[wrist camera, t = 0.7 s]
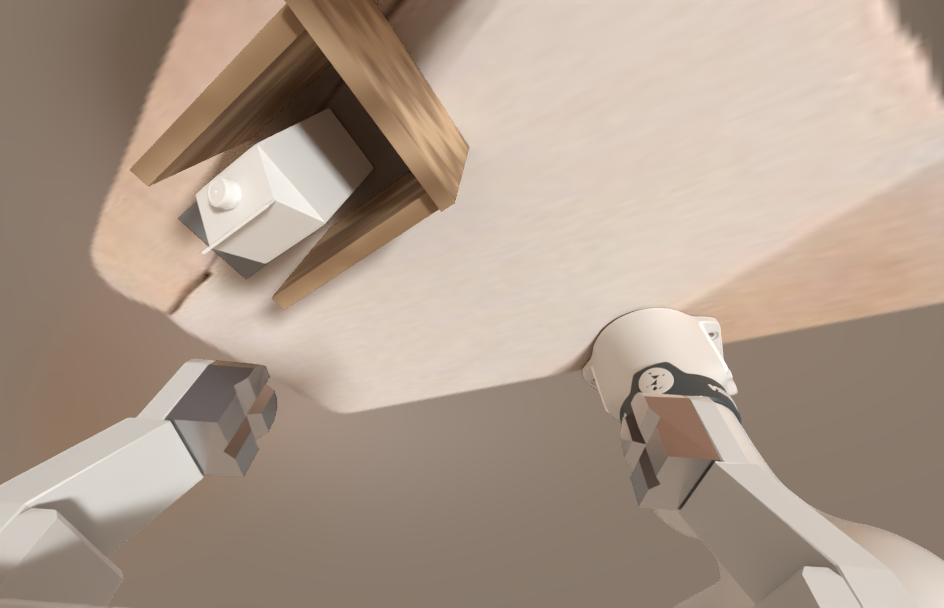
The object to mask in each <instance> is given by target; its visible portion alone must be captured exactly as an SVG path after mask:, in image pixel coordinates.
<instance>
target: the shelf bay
mask: <svg viewBox="0 0 944 608" xmlns="http://www.w3.org/2000/svg"><path fill="white" fill-rule="evenodd" d="M285 2H286V5H285V6H284V7H283V8H282V9H281V10H280V11H279V12H278V13H277V14H276V15H275V16H274V17H273V18H272V19H271V20H270V21H269V23H268V24H267V25H266V26H265V27H264V28H263V29H262V30H261V31H260V32H259V33H258V34H257V35H256V36H255V37H254V38H253V40H252V41H251V42H250V43H249V44H248V45H247V46H246V47H245V48H244V49H243V50H242V51H241V52H240V53H239V54H238V55H237V56H236V58H235V59H234V60H233V61H232V62H231V63H230V64H229V65H228V66H227V67H226V68H225V69H224V70H223V71H222V72H221V73H220V74H219V76H218V77H217V78H216V79H215V80H214V81H213V82H212V83H211V84H210V85H209V86H208V87H207V88H206V89H205V90H204V91H203V93H202V94H201V95H200V96H199V97H198V98H197V99H196V100H195V101H194V102H193V103H192V104H191V105H190V106H189V107H188V108H187V109H186V111H185V112H184V113H183V114H182V115H181V116H180V117H179V118H178V119H177V120H176V121H175V122H174V123H173V124H172V125H171V126H170V128H169V129H168V130H167V131H166V132H165V133H164V134H163V135H162V136H161V137H160V138H159V139H158V140H157V141H156V142H155V143H154V144H153V146H152V147H151V148H150V149H149V150H148V151H147V152H146V153H145V154H144V155H143V156H142V157H141V158H140V159H139V160H138V161H137V162H136V164H135V165H134V166H133V167H132V168H131V169H130V171H131V172H132V173H134V174H135V175H136V176H137V177H138V178H139V179H140V180H141V181H142V182H144V183H145V184H146V185H147V186H150V185H153V184H155V183H157V182H159V181H161V180H163V179H166V178H168V177H170V176H172V175H174V174H176V173H179V172H181V171H183V170H185V169H187V168H189V167H192V166H194V165H196V164H198V163H200V162H202V161H205V160H207V159H209V158H211V157H213V156H215V155H218V154H220V153H222V152H224V151H226V150H228V149H231V148H233V147H235V146H237V145H239V144H241V143H244V142H246V141H248V140H250V139H251V138H252V137H253V136H254V135H255V134H256V133H257V132H258V131H259V130H260V129H262V128H263V127H264V126H265V125H266V124H267V123H268V122H269V121H270V120H271V119H272V118H273V117H275V116H276V115H277V114H278V113H279V112H280V111H281V110H282V109H283V108H284V107H285V106H286V105H288V104H289V103H290V102H291V101H292V100H293V99H294V98H295V97H296V96H297V95H298V94H299V93H301V92H302V91H303V90H304V89H305V88H306V87H307V86H308V85H309V84H310V83H311V82H312V81H314V80H315V79H316V78H317V77H318V76H319V75H320V74H321V73H322V72H323V71H324V70H325V69H327V68H328V67H329V66H330V65H331V64H332V65H333V66H334V68H335V69H336V71H337V72H338V73H339V75H340V76H341V77H342V79H343V80H344V81H345V83H346V84H347V85H348V87H349V88H350V89H351V91H352V92H353V93H354V95H355V96H356V97H357V99H358V100H359V102H360V103H361V104H362V106H363V107H364V108H365V110H366V111H367V112H368V114H369V115H370V116H371V118H372V119H373V120H374V122H375V123H376V124H377V126H378V127H379V128H380V130H381V131H382V133H383V134H384V135H385V137H386V138H387V139H388V141H389V142H390V143H391V145H392V146H393V147H394V149H395V150H396V151H397V153H398V154H399V155H400V157H401V158H402V159H403V161H404V162H405V164H406V165H407V166H408V168H409V169H410V170H411V171H409V172H408V173H406V174H405V175H404V176H402V177H401V178H399V179H398V180H397V181H395V182H394V183H392V184H391V185H390V186H388V187H387V188H385V189H384V190H383V191H381V192H380V193H378V194H377V195H376V196H374V197H373V198H371V199H370V200H369V201H367V202H366V203H364V204H363V205H362V206H360V207H359V208H357V209H356V210H355V211H353V212H352V213H350V214H349V215H348V216H346V217H345V218H343V219H342V220H341V221H339V222H338V223H337V224H335V225H334V226H332V227H331V228H330V229H329V230H328V231H327V232H326V233H325V235H324V236H323V237H322V238H321V239H320V241H319V242H318V243H317V244H316V245H315V247H314V248H313V249H312V250H311V251H310V253H309V254H308V255H307V256H306V257H305V259H304V260H303V261H302V262H301V263H300V264H299V266H298V267H297V268H296V269H295V270H294V272H293V273H292V274H291V275H290V276H289V278H288V279H287V280H286V281H285V282H284V284H283V285H282V286H281V287H280V288H279V290H278V291H277V292H276V293H275V294H274V295H273V297H272V299H273V300H274V301H275V302H276V303H277V304H278V305H280V306H281V307H282V308H283V309H284V310H285V309H286V308H288V307H289V306H291V305H292V304H294V303H295V302H297V301H298V300H300V299H302V298H303V297H305V296H306V295H308V294H309V293H311V292H312V291H314V290H315V289H317V288H318V287H320V286H322V285H323V284H325V283H326V282H328V281H329V280H331V279H332V278H334V277H335V276H337V275H338V274H340V273H342V272H343V271H345V270H346V269H348V268H349V267H351V266H352V265H354V264H355V263H357V262H358V261H360V260H362V259H363V258H365V257H366V256H368V255H369V254H371V253H372V252H374V251H375V250H377V249H378V248H380V247H382V246H383V245H385V244H386V243H388V242H389V241H391V240H392V239H394V238H395V237H397V236H399V235H400V234H402V233H403V232H405V231H406V230H408V229H409V228H411V227H412V226H414V225H415V224H417V223H419V222H420V221H422V220H423V219H425V218H426V217H428V216H429V215H431V214H432V213H434V212H435V211H437V210H439V209H440V211H441V212H442V211H443V210H445V209H446V208H448V207H449V206H451V205H453V204H454V203H455V200H456V196H457V192H458V188H459V185H460V181H461V177H462V173H463V169H464V165H465V162H466V158H467V154H468V150H469V146H468V144H467V143H466V141H465V140H464V138H463V137H462V135H461V134H460V132H459V131H458V129H457V127H456V126H455V124H454V123H453V121H452V120H451V118H450V117H449V115H448V113H447V112H446V110H445V109H444V107H443V106H442V104H441V103H440V101H439V100H438V98H437V96H436V95H435V93H434V92H433V90H432V89H431V87H430V86H429V84H428V83H427V81H426V79H425V78H424V76H423V75H422V73H421V72H420V70H419V69H418V67H417V66H416V64H415V62H414V61H413V59H412V58H411V56H410V55H409V53H408V52H407V50H406V49H405V47H404V45H403V44H402V42H401V41H400V39H399V38H398V36H397V35H396V33H395V32H394V30H393V28H392V27H391V25H390V24H389V22H388V21H387V19H386V18H385V16H384V15H383V13H382V11H381V10H380V8H379V7H378V5H377V4H376V2H375V1H374V0H285Z"/></svg>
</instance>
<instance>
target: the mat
mask: <svg viewBox="0 0 944 608" xmlns="http://www.w3.org/2000/svg"><path fill="white" fill-rule="evenodd" d="M178 219H179V220H180V221H181V222H183V223H184V224H185V225H186V226H187V227H188V228H189V229H190V230H191V231H193V232H194V233H195V234H196V235H197V236H198V237H199V238H200V239H201V240H203V241H204V242H205V243H206V244H207V245H208V246H209V243H208V239H207V236H206V232H205V228H204V225H203V221H202V217H201V214H200V210H199V206H198V203H197V202H196V203H194V204H193V205H192V206H191V207H190V208H189V209H188V210H187V211H186V212H184V213H183V214H182V215H181V216H180V217H179V218H178ZM213 250H214V251H215V252H216V253H217V254H218V255H219V256H220V257H222V258H223V259H224V260H225V261H226V262H227V263H228V264H229V265H230V266H232V267H233V268H234V269H235V270H236V271H237V272H238V273H239V274H240V275H242V276H243V277H244V278H245V279H246V278H248V277H249V276H251V275H252V274H253V273H255V272H256V271H257V270H259V269H260V268H262V267H263V266H264V265H266V264H267V263H266V264H265V263H261V262H257V261H254V260H251V259H247V258H244V257H240V256H237V255H233V254H230V253H226V252H223V251H219V250H216V249H213Z"/></svg>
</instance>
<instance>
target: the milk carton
mask: <svg viewBox="0 0 944 608" xmlns="http://www.w3.org/2000/svg"><path fill="white" fill-rule="evenodd" d="M373 169H374V167H373V166H372V164H371V163H370V162H369V160H368V159H367V158H366V156H365V155H364V154H363V152H362V151H361V150H360V148H359V147H358V146H357V144H356V143H355V142H354V140H353V139H352V138H351V136H350V135H349V134H348V132H347V131H346V130H345V128H344V127H343V126H342V124H341V123H340V122H339V120H338V119H337V118H336V116H335V115H334V113H333V112H332V111H331V109H330V108H328V109H325V110H323V111H321V112H319V113H317V114H315V115H313V116H311V117H309V118H307V119H305V120H303V121H301V122H299V123H297V124H295V125H293V126H291V127H289V128H287V129H285V130H283V131H281V132H278V133H276V134H274V135H272V136H270V137H268V138H266V139H264V140H262V141H260V142H258V143H257V144H255V145H254V146H252V147H251V148H250V149H248V150H247V151H246V152H245V153H243V154H242V155H241V156H240V157H239V158H237V159H236V160H235V161H234V162H233V163H232V164H230V165H229V166H228V167H227V168H226V169H224V170H223V171H222V172H221V173H220V174H218V175H217V176H216V177H215V178H214V179H212V180H211V181H210V182H209V183H208V184H206V185H205V186H204V187H203V188H202V189H201V190H200V191H199V192H198V193H197V194H196V199H197V203H198V206H199V210H200V214H201V217H202V221H203V225H204V228H205V232H206V236H207V239H208V243H209V247H208V248H207V249H205V250H204V251H203V252H201V253H202V254H203V255H204V254H205V253H207V252H208V251H210V250H211V249H216V250H219V251H223V252H226V253H230V254H233V255H237V256H240V257H244V258H247V259H251V260H254V261H257V262H261V263H265V264H266V263H268V262H270V261H271V260H273V259H274V258H276V257H277V256H279V255H280V254H282V253H283V252H285V251H286V250H288V249H289V248H291V247H292V246H294V245H295V244H297V243H298V242H300V241H301V240H303V239H304V238H306V237H307V236H309V235H310V234H312V233H313V232H315V231H316V230H318V229H319V228H321V227H322V226H323V225H325V224H326V223H327V221H328V220H329V219H330V218H331V217H332V216H333V215H334V213H335V212H336V211H337V210H338V209H339V208H340V207H341V205H342V204H343V203H344V202H345V201H346V200H347V199H348V198H349V196H350V195H351V194H352V193H353V192H354V191H355V190H356V188H357V187H358V186H359V185H360V184H361V183H362V182H363V180H364V179H365V178H366V177H367V176H368V175H369V174H370V172H371V171H372V170H373Z"/></svg>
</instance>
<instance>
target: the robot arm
mask: <svg viewBox="0 0 944 608" xmlns="http://www.w3.org/2000/svg"><path fill="white" fill-rule="evenodd" d="M709 333H710V334H709ZM582 376H583V378H584V380H585V381H586V382H587V383H589V384H590V385H591V386H592V387H593V388H594V389H596V390H597V391H598V392H599V394H600V397H601V400H602V403H603V406H604V408H605V410H606V412H607V413H610V414H611V415H612V416H613V417H614V418H616V419H617V420H619V421H620V422H621V424H622V425H621V437H620V440H621V448H622V452H623V455H624V459H625V460H627V462H628V463H629V464H630V465H631V466H632V467H633V468H634V470H633V472H632V474H631V476H630V479H631V482H632V486H633V489H634V493H635V496H636V499H637V503H638V506H639V507H644V508H653V510H654V511H655V512H656V514H657V515H658V516H659V517H660V518H661V519H662V520H663V521H664V522H666V523H667V524H668V525H669V526H671V527H672V528H673V529H675V530H677V531H678V532H680V533H682V534H684V535H687V536H690V537H693V538H697V539H701V540H702V542H703V543H704V544H705V545H706V546H707V548H708V549H709V550H710V551H711V552H712V553H713V555H714V556H715V557H716V559H717V561H718V564H719V568H720V580H719V581H718V582H717V583H716V584H714V585H712V586H710V587H708V588H707V589H705V590H703V591H701V592H700V593H698V594H696V595H694V596H692V597H691V598H689V599H687V600H685V601H684V602H682V603H680V604H678V605H677V606H675V607H673V608H944V561H943V560H942V559H940V558H939V557H937V556H936V555H934V554H933V553H931V552H929V551H928V550H926V549H924V548H922V547H921V546H919V545H917V544H915V543H913V542H911V541H909V540H907V539H905V538H903V537H900V536H898V535H896V534H893V533H891V532H888V531H885V530H882V529H879V528H876V527H872V526H869V525H864V524H859V523H854V522H850V521H846V520H843V519H839V518H836V517H833V516H831V515H828V514H825V513H823V512H821V511H819V510H817V509H815V508H814V507H811V506H810V505H808V504H807V503H805V502H804V501H803V500H801V499H800V498H799V497H797V496H796V495H795V494H794V493H792V492H791V491H790V490H789V489H787V488H786V487H785V486H784V485H783V484H782V483H781V482H780V481H779V479H778V478H777V477H776V476H775V475H774V473H773V472H772V471H771V470H770V468H769V467H768V465H767V464H766V463H765V461H764V460H763V458H762V457H761V455H760V454H759V452H758V451H757V449H756V448H755V446H754V445H753V443H752V442H751V440H750V439H749V437H748V436H747V434H746V432H745V431H744V429H743V427H742V426H741V417H740V414H739V413H738V410H737V407H736V405H735V403H734V401H733V400H732V398H731V397H730V395H734V394H736V393H737V388H736V385H735V383H734V381H733V379H732V378H733V377H732V374H731V372H730V370H729V369H728V368H727V365H726V364H725V362H724V358H723V349H722V339H721V330H720V325H719V323H718V321H717V320H716V319H715V318H712V317H695V316H690V315H687V314H685V313H682V312H680V311H677V310H673V309H667V308H648V309H642V310H638V311H634V312H631V313H629V314H626V315H624V316H622V317H620V318H618V319H617V320H615V321H614V322H612V323H611V324H610V325H608V326H607V327H606V328H605V329H604V330H603V331H602V332H601V334H600V335H599V336H598V338H597V340H596V342H595V344H594V347H593V352H592V356H591V359H590V360H589V361H588V362H587V364H586V365H585V366H584V368H583V369H582ZM269 378H270V376H269V373H268V371H267V368H266V366H263V365H258V364H248V363H238V362H228V361H218V360H216V361H214V360H204V359H192V360H190V361H188V362H186V363H185V364H184V365H183V366H182V367H181V368H180V369H179V370H178V371H177V372H176V374H175V375H174V376H173V377H172V378H171V379H170V380H169V381H168V383H167V384H166V385H165V386H164V387H163V388H162V390H160V392H159V393H158V394H157V395H156V396H155V397H154V399H152V401H151V402H150V403H149V404H148V405H147V406H146V407H145V408H144V409H143V411H142V412H141V413H140V414H139V415H138V416H137V417H136V418H127V419H125V420H123V421H121V422H119V423H117V424H115V425H113V426H111V427H110V428H108V429H106V430H104V431H102V432H100V433H98V434H96V435H95V436H92V437H91V438H89V439H87V440H85V441H83V442H81V443H79V444H77V445H75V446H73V447H72V448H70V449H68V450H66V451H64V452H62V453H60V454H58V455H56V456H55V457H53V458H51V459H49V460H47V461H45V462H43V463H41V464H39V465H38V466H36V467H34V468H32V469H30V470H28V471H26V472H24V473H22V474H20V475H18V476H17V477H15V478H13V479H11V480H9V481H7V482H5V483H3V484H1V485H0V608H128V607H114V606H107V604H108V603H109V601H110V600H111V598H112V596H113V595H114V593H115V592H116V590H117V588H118V587H119V585H120V584H121V582H122V581H123V576H122V571H121V570H120V569H118V568H117V567H116V566H115V565H114V564H113V563H112V562H111V561H110V560H109V559H108V558H107V557H108V556H109V555H110V554H112V553H113V552H114V551H115V550H116V549H118V548H119V547H120V546H121V545H122V544H124V543H125V542H126V541H127V540H129V539H130V538H131V537H132V536H133V535H134V534H136V533H137V532H138V531H139V530H141V529H142V528H143V527H144V526H145V525H147V524H148V523H149V522H150V521H151V520H153V519H154V518H155V517H156V516H158V515H159V514H160V513H161V512H162V511H164V510H165V509H166V508H167V507H169V506H170V505H171V504H172V503H173V502H175V501H176V500H177V499H178V498H179V497H181V496H182V495H183V494H184V493H186V492H187V491H188V490H189V489H190V488H192V487H193V486H194V485H195V484H196V483H198V482H199V481H200V480H201V479H202V478H203V475H205V476H206V475H207V476H227V477H244V476H245V474H246V472H247V470H248V469H249V467H250V465H251V463H252V461H253V460H254V458H255V456H256V454H257V452H258V450H259V448H258V444H257V440H258V439H259V438H261V437H262V436H263V435H265V434H266V433H268V432H269V429H270V428H271V426H272V424H273V422H274V419H275V415H276V411H277V397H276V394H275V391H274V390H273V389H272V388H271V387H269V386H268V385H267V384H266V383H267V381H268V379H269Z"/></svg>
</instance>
